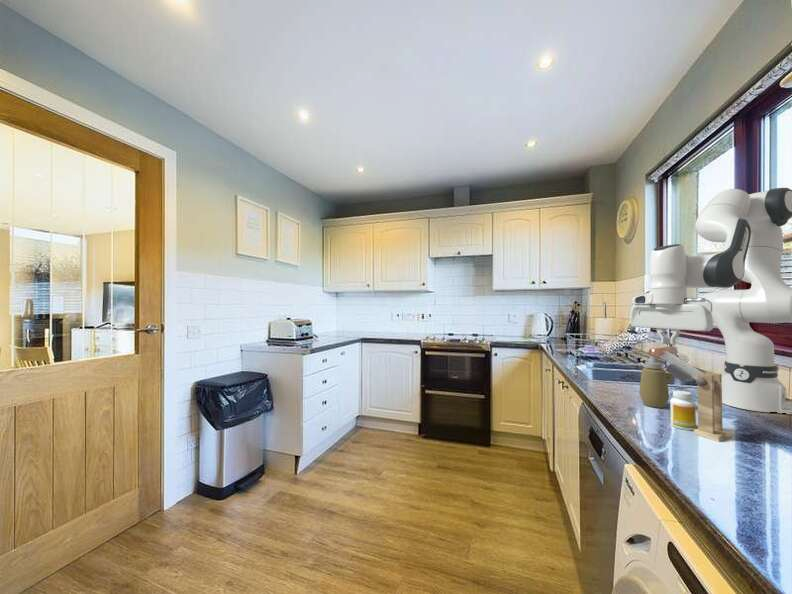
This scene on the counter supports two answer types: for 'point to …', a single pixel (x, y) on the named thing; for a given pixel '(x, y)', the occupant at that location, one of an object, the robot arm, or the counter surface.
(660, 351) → the lever
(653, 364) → the squeeze bottle
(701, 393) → the press stand
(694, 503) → the counter surface
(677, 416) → the supplement bottle
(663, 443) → the counter surface
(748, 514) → the counter surface
